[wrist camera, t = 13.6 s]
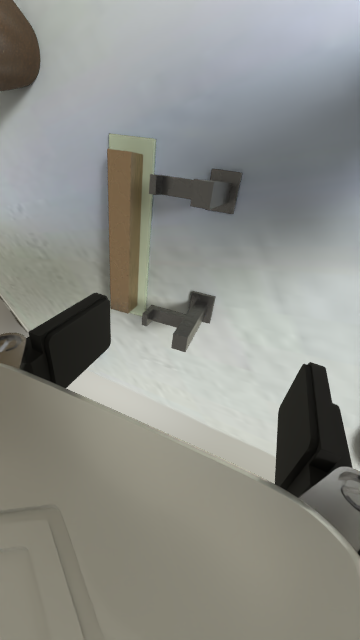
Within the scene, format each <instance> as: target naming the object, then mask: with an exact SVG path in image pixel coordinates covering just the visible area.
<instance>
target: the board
mask: <svg viewBox="0 0 360 640" xmlns="http://www.w3.org/2000/svg"><path fill="white" fill-rule="evenodd" d="M109 149H114V150H122V151H129V152H134V153H139V154H143V174H142V199H141V225H140V250H139V276H138V301H137V306H136V307H135V308H134V309H133V310H132V311H131V312H129V313H132V314H135V315H139V316H142V313H143V312H145V311H146V299H147V282H148V266H149V249H150V233H151V216H152V200H153V194H149V183H150V174H154V167H155V150H156V139H152V138H144V137H135V136H126V135H118V134H109Z"/></svg>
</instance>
